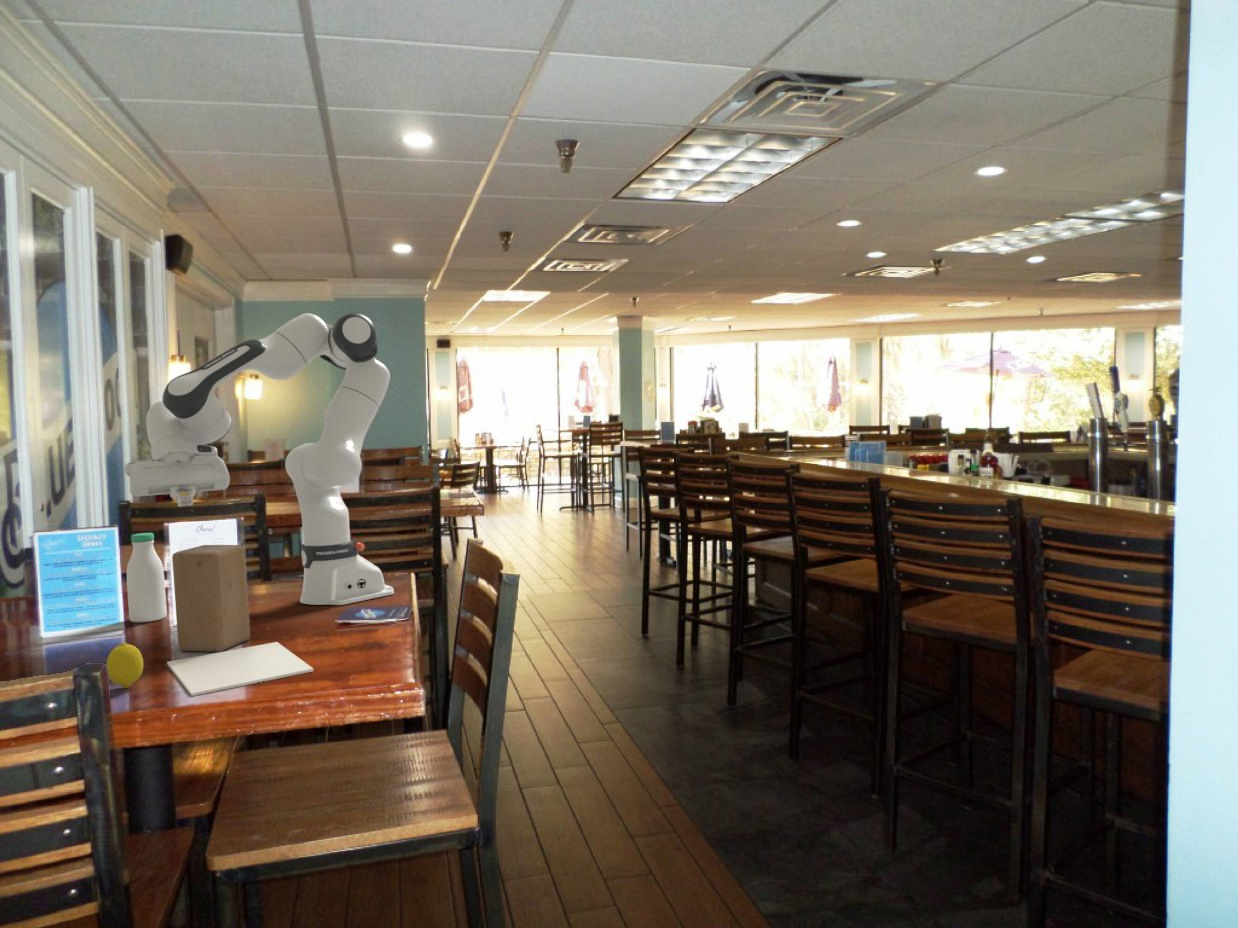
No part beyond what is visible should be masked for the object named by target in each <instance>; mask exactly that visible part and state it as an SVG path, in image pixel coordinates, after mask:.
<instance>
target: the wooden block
mask: <svg viewBox="0 0 1238 928" xmlns="http://www.w3.org/2000/svg"><path fill="white" fill-rule="evenodd" d="M245 550H246V549H245V547H244V546H243V545H240V544H204V545H199V546H196V547H195V546H194V547H192V548H191V547H190V548H187V549H184V550H183V549H182V550H179V551H176V552H174V553H173V554H172V561H171V562H172V572H173V573H172V575H173V588H174V589H173V590H174V601H175V602H174V603H175V615H176V628H177V629H176V630H177V642H178V649H179V650H180V651H182V652H201V651H204V652H205V653H206V652H208V653H219V652H224V651H225V650H226V651H227V649H230V648H232V647H235V646H237V645H239V644H241V643H244V642H246V641H248V640H249V639H250V636H251V633H250V632H251V631H250V630H251V629H250V614H249V612H250V611H249V600H248V597H249V596H248V587H247V586H248V583H247V581H248V580H247V570H246V569H247V568H246V552H245Z"/></svg>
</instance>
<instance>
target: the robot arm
mask: <svg viewBox="0 0 1238 928" xmlns="http://www.w3.org/2000/svg"><path fill="white" fill-rule="evenodd" d="M377 336H378V334H377V330H376V327H375V325H374V323H373V321H372V320H371V319H370V318H369V317H367V316H366V315H364V314H361V313H360V312H359V313H357V312H351V313H346V314H344V315H342V316H341V317H339V318H338V319H337V320H336V321H335V322H334V325H333V324H328V323H326V322H325V321H324V320H323V318H321V317H320V316H318V315H316V314H313V313H310V312H308V313H307V312H306V313H302V314H300V315H298V316H296V317H294V318H292V319H291V320H288V322H286V323H284V324H283V325H281V326H280V327H279V328H277V329H276V330H275V331H273V332H272V333H270V334H269V335H267V336H266V337H264V338H262V339H254V338H250V339H246V340H244V341H242V342H240V343H238V344H236V345H234V346H233V347H230V348H229V349H227V350H225V351H223V352H222V353H221V354H219V355H217V356H215V357H214V358H211V359H210V360H208V361H207V362H205V363H204V364H201V365H200V366H198V367H197V368H195V369H192V370H191V371H188V372H186V373H183V374H181V375H178V376H176V377H174V378H173V379H171V380H170V381H169V382H168V383H167V385H166V386H165V389H164V391H163V394H162V400H159V401H157V402H155V403H154V404H152V406H151V405H150V407H149V409H148V411H147V414H146V416H145V417H146V418H145V426H146V428H145V429H146V433H147V438H148V439H147V440H148V442H149V444H150V445H151V448H150V453H151V456H152V459H144V460H143V459H141V460H137V459H136V460H135V459H134V460H131V462H128V463H126V464H125V465H124V473H125V475H126V476H127V477H129V484H128V485H129V493H130V495H132V496H133V497H147V496H149V497H150V496H158V495H159V496H160V495H169V497H170V498H171V499H173V500H174V501H175V502H177V503H176V504H177V507H188V506H194V497H195V495H196V493H197V492H211V491H221V490H223V491H224V490H226V489H228V487H229V485H230V479H231V477H230V473H229V470H228V468H227V465H226V464H225V461H224V460H223V459H222V458H221V457H220V456H218V449H217V447H216V446H212V445H210V444H213V443H215V442H216V443H217V442H219V441H220V440H222V439H223V438H224V437H226V436H227V434H228V433H229V432H230V430H231V428H232V424H233V421H232V420H233V419H232V416H231V415H230V414H229V413H228V411H227V410H226V408H225V407H224V405H223V404H222V402H221V401H220V400H219V399H218V397H216V395H215V393H214V391H215V390H216V388H217V387H219V386H220V385H222V384H223V383H225V382H226V381H228V380H230V379H232V378H233V377H235V376H237V375H238V374H240V373H242V372H244V371H247V370H254V371H256V372H258V373H260V374H261V375H264V376H265V377H267V378H269V379H273V380H279V381H281V380H282V381H284V380H288V379H290V378H293V377H295V376H296V375H298V374H299V373H300V372H301V371H302V370H303V369H304V368H305V367H307V366H308V365H309V364H310V363H311V362H313V361H314V360H315V359H316V358H318V357H320V358H321V359H323V360H324V361H325V362H328V363H330V364H331V365H332V366H334V367H336V368H338V369H339V370H344V371H345V374H344V377H343V379H342V381H341V383H340V384H339V386H338V388H337V390H336V392H335V393H334V395H333V397H332V399H331V401H330V403H329V404H328V407H327V408H326V409H325V412H324V416H323V419H324V426H323V430H322V432H321V437H320V439H319V440H318V441H317V442H308V443H307V442H306V443H302V444H300V445H299V446H296V447H294V448H293V449H291V450H290V451H289V453H288V454H287V456H286V458H285V462H284V463H285V464H284V465H285V466H284V467H285V471H286V473H287V475H288V476H289V477H290V479H291V481H292V483H293V484H292V485H293V487H294V490H295V494H296V498H297V501H298V505H299V509H300V514H301V525H302V526H301V527H302V539H303V540H302V541H303V544H302V545H301V562H302V566H303V582H302V584H303V585H302V590H301V596H300V599H299V602H300V603H301V604H305V605H312V606H313V605H315V606H316V605H317V606H318V605H319V606H322V605H331V606H343V605H347V604H354V603H359V602H363V601H367V600H371V599H377V598H381V597H386V596H390V595H391V596H392V595H393V594H394V593H395V590H394V589H395V588H394V587H393V586H391V585H388V584H385V579H384V576H383V572H382V570H381V568H379V566H378V565H375V564H374V563H372V562H371V561H369V560H367V559H366V558H364V557H363V556H361V555H359V552H363V551H364V550H365V548H366V546H365V544H364V543H363V542H359V541H358V542H355V541H353V540H351V532H350V531H351V529H350V513H349V508H348V507H347V505H346V503H345V502H344V500H343V498H342V496H341V492H340V488H343V487H346V486H349V485H352V484H353V483H354V482H355V481H357V479H358V478H359V477H360V475H361V473H362V469H363V463H362V459H361V453H362V448H363V443H364V441H365V438H366V435H367V432H368V430H369V429H370V426H371V425H372V422H373V421H374V419H375V417H376V415H377V413H378V410H379V409H380V407H381V405H382V403H383V401H384V398H385V396H386V394H387V390H388V387H389V384H390V381H391V373H390V369H388V367H387V365H385V364H383V363H382V362H381V361H380V360H377V359H376V356H377V355H378V353H379V352H378V338H377ZM183 493H184V494H185V493H187V495H181V494H183Z"/></svg>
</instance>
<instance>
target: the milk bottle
mask: <svg viewBox="0 0 1238 928" xmlns="http://www.w3.org/2000/svg"><path fill="white" fill-rule="evenodd" d="M130 538H131V545H132V551H131V552H132V553H131V555H130V558H129V560H128V563H127V567H126V590H127V602H128V605H127V606H128V615H129V616H128V618H129V621H130V622H131V623H148V622H154V621H155V622H156V621H159V620H163V619H164V618H166V617H167V615H168V610H167V609H168V607H167V596H166V594H167V593H166V582H165V571H164V565H163V563H162V560H161V558H160V557H159V555H158V554H157V552H156V549H155V546H154V543H155V534H154V533H153V532H141V533H133V534H132V535H131V537H130Z"/></svg>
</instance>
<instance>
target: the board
mask: <svg viewBox="0 0 1238 928" xmlns="http://www.w3.org/2000/svg"><path fill="white" fill-rule="evenodd" d="M166 663H167V667H169V668H170V670H171V671H172V673H173V674H174V675H175V677H176V678H177V679H178V680H179V681H180V683H181V684H182V685H183V687H184V688H185V690H186V691H187V693H189V694H190V696H191V697H196V696H200V695H205V694H210V693H215V692H219V691H225V690H229V689H234V688H239V687H243V686H249V685H252V684H258V682H259V683H263V681H264V682H269V681H273V680H274V681H275V680H278V679H282V678H288V677H293V676H298V675H302V674H306V673H308V674H309V673H311V672H314V668H313V667H312V666H310V665H309V664H308V663H307V662H305V661H304V660H302V659H301V658H300V657H298V656H297V655H295V654H294V653H293V652H291V651H290V650H289V649H288V648H286V647H285V646H283V645H282V644H281V643H279V642H278V641H273V642H269V643H264V644H260V645H259V644H258V645H253V646H247V647H243V648H242V647H241V648H236V649H231V650H226V651H225V650H223V651H221V652H212V653H209V654H203V655H197V656H192V657H187V658H186V657H185V658H181V659H175V660H170V661H167V662H166Z"/></svg>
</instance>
